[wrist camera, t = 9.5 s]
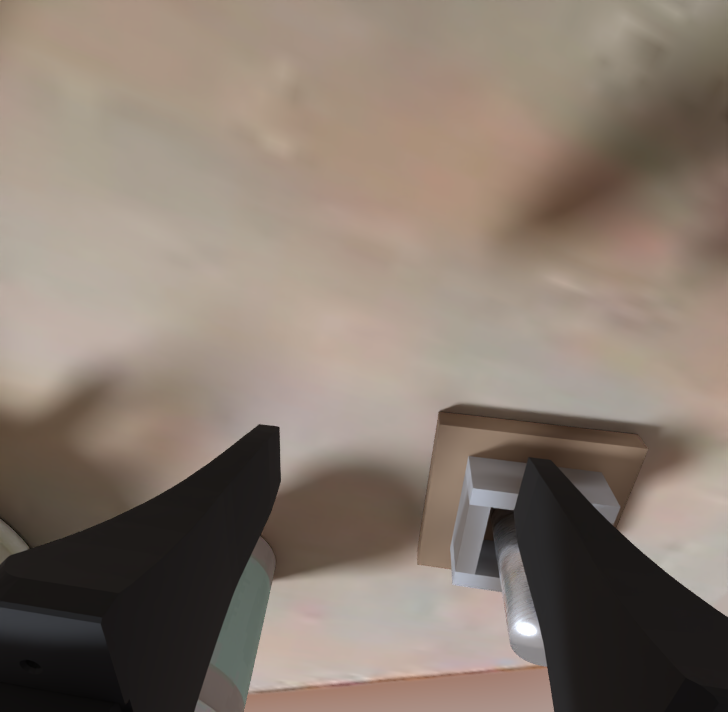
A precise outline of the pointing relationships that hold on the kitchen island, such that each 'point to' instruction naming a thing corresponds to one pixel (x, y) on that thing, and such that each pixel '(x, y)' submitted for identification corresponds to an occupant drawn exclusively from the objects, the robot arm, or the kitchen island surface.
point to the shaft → (516, 590)
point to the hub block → (510, 484)
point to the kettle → (10, 542)
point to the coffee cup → (239, 637)
